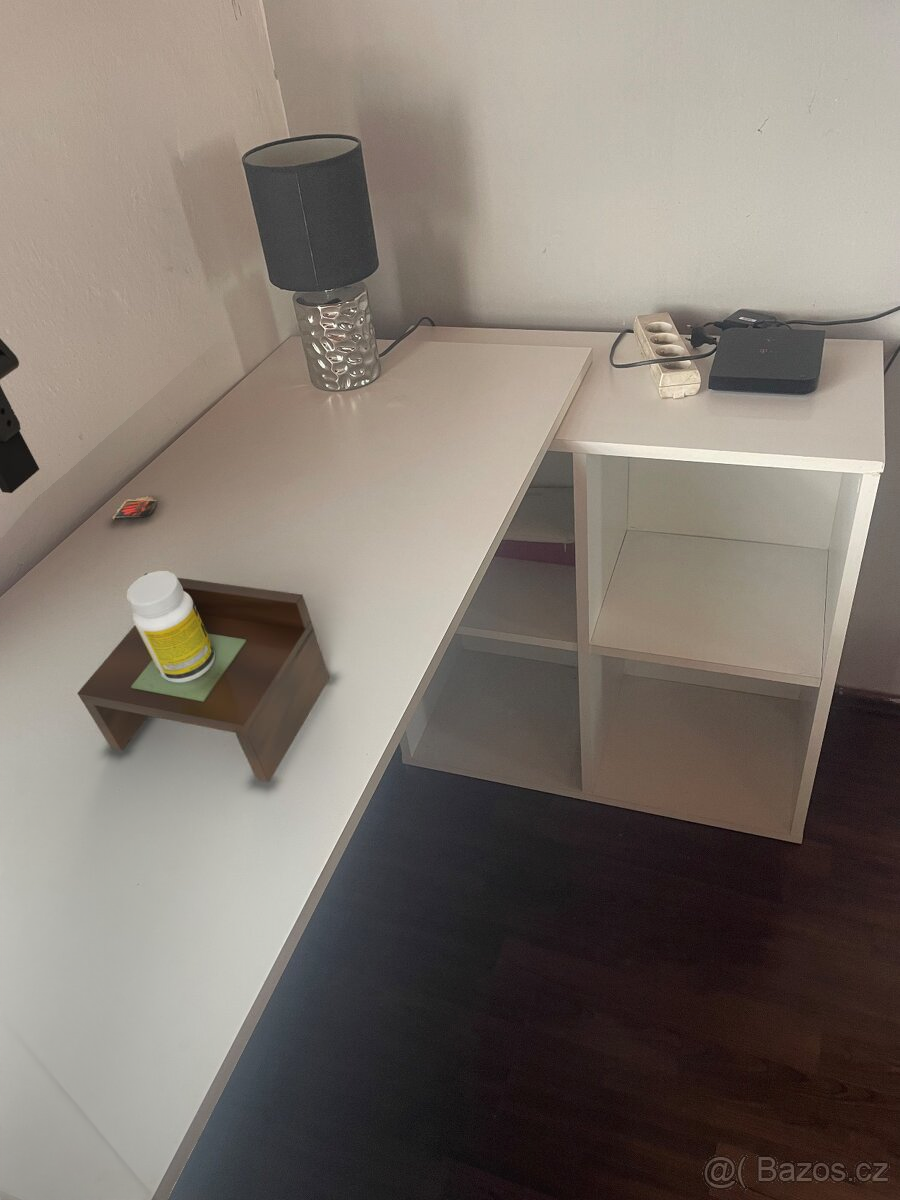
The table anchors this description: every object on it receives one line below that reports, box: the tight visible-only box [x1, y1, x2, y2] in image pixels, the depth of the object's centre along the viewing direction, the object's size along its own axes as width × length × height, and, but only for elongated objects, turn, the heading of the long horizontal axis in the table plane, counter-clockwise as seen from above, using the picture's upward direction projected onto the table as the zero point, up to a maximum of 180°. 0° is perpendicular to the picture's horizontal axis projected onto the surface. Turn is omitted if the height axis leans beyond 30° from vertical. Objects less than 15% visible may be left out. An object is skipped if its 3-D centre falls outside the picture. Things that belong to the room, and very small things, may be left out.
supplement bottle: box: [126, 570, 215, 683], centre depth 69 cm, size 5×5×8 cm
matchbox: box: [112, 495, 157, 522], centre depth 105 cm, size 5×5×1 cm
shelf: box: [76, 572, 330, 783], centre depth 74 cm, size 12×16×10 cm
